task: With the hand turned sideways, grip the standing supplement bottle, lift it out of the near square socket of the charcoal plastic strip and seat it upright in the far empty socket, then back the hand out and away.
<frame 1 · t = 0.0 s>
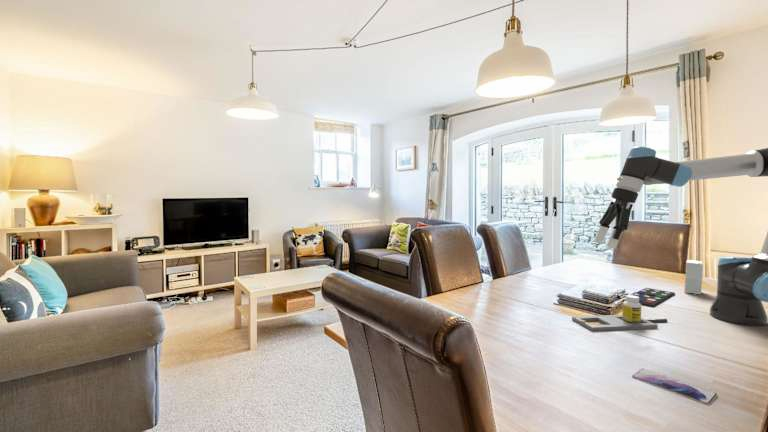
hand: (603, 245, 129), 28 cm above the table, tool tilted 20°, fingers open, 13 cm apart
supplement bottle: (631, 323, 127), resting in socket strip
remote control: (649, 299, 159), on the table
smartphone: (672, 388, 85), on the table
socket strip: (613, 323, 127), on the table
skincare box: (692, 292, 167), on the table
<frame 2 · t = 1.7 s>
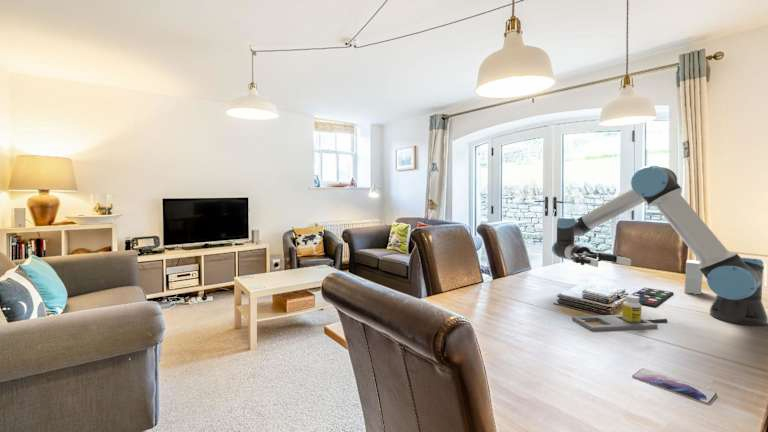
hand: (613, 263, 136), 20 cm above the table, tool horizontal, fingers open, 13 cm apart
nothing on the table moved.
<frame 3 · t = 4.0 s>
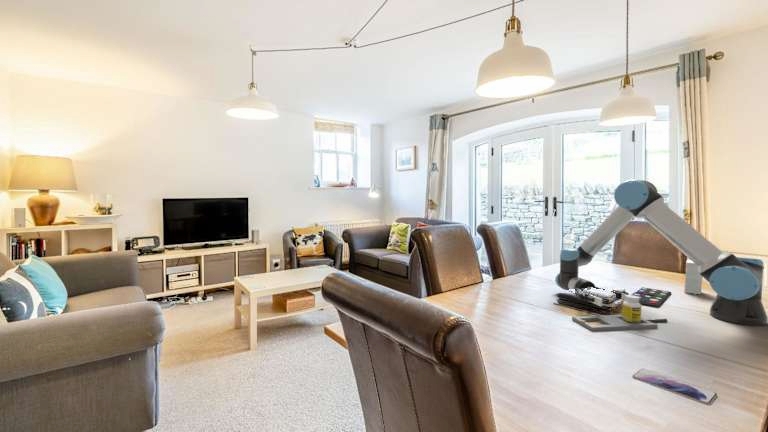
hand: (618, 302, 133), 6 cm above the table, tool horizontal, fingers open, 13 cm apart
nothing on the table moved.
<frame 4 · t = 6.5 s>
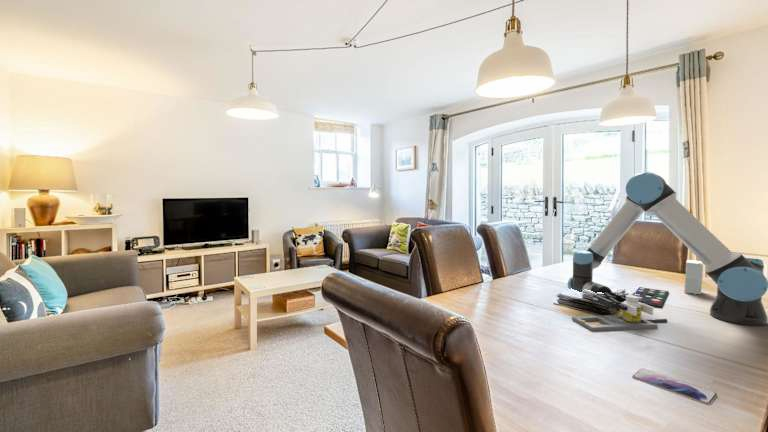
hand: (644, 311, 122), 6 cm above the table, tool horizontal, fingers closed on supplement bottle, 5 cm apart
supplement bottle: (631, 323, 127), resting in socket strip, touching gripper
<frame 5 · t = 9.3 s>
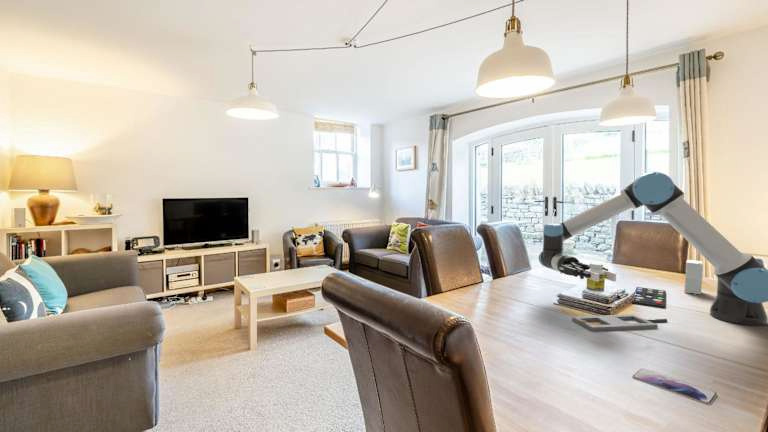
hand: (606, 277, 120), 18 cm above the table, tool horizontal, fingers closed on supplement bottle, 5 cm apart
supplement bottle: (595, 291, 126), point 12 cm above the table, touching gripper
when the fingers open (7 cm above the table, at t = 12.3 s): supplement bottle stays where it is, resting in socket strip.
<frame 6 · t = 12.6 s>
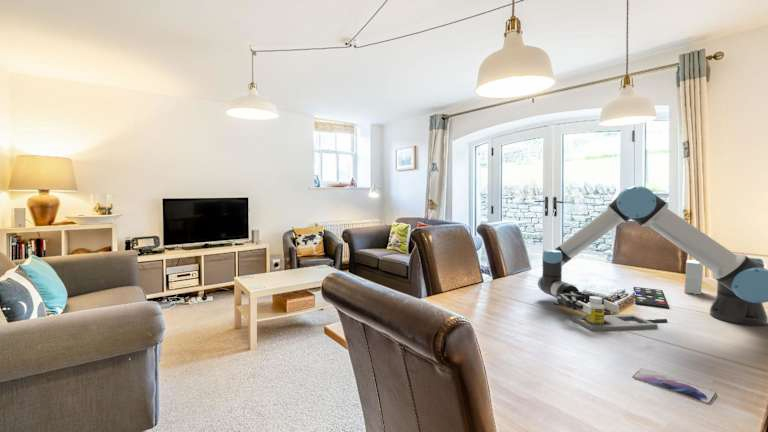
hand: (604, 309, 121), 7 cm above the table, tool horizontal, fingers open, 9 cm apart
supplement bottle: (594, 325, 126), resting in socket strip
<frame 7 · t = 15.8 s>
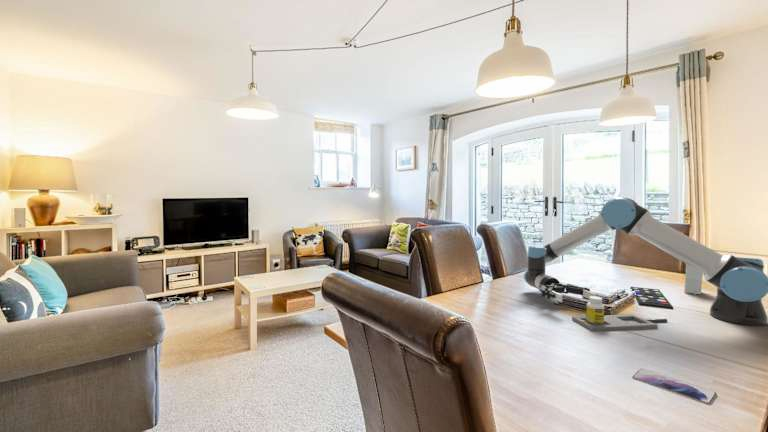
hand: (578, 298, 135), 7 cm above the table, tool horizontal, fingers open, 13 cm apart
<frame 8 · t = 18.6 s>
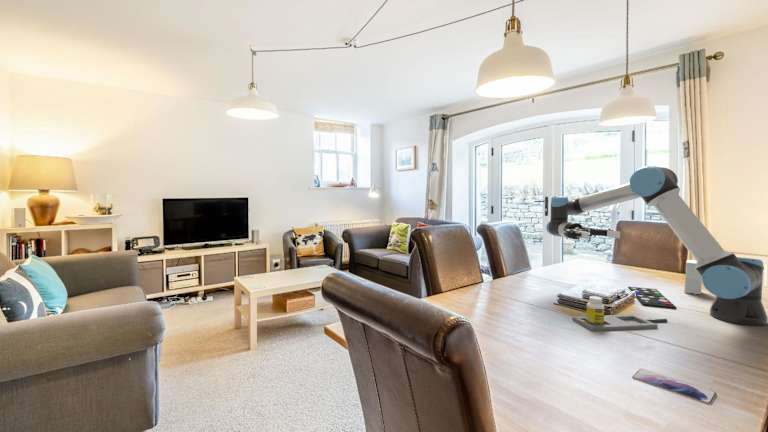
hand: (603, 235, 142), 30 cm above the table, tool horizontal, fingers open, 13 cm apart
at the end: supplement bottle 0.1 cm from the target spot on the socket strip, point 0.0 cm above the socket strip's base; supplement bottle tilted 0°; the gripper is holding nothing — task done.
